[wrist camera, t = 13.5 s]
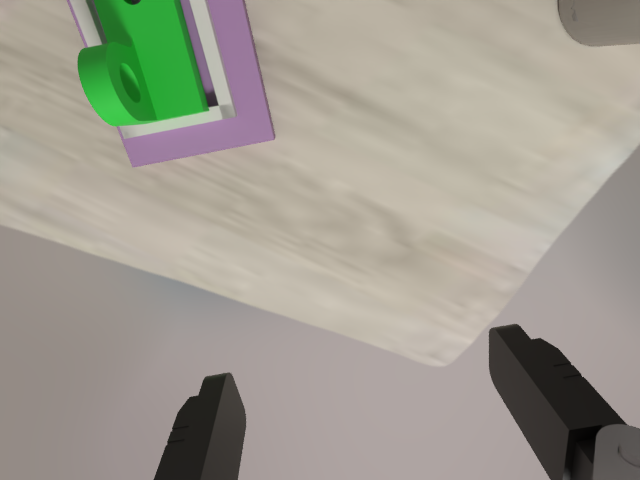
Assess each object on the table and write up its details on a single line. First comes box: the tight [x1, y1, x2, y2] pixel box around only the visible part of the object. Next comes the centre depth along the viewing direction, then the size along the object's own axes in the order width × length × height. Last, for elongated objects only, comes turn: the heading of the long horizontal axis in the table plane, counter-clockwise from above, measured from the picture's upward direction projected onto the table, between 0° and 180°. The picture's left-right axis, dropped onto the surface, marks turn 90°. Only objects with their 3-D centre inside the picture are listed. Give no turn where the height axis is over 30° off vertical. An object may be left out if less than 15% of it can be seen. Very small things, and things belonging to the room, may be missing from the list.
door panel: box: [67, 0, 275, 167], centre depth 33 cm, size 14×20×3 cm
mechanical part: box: [78, 0, 209, 126], centre depth 28 cm, size 12×6×8 cm, turn 10°
